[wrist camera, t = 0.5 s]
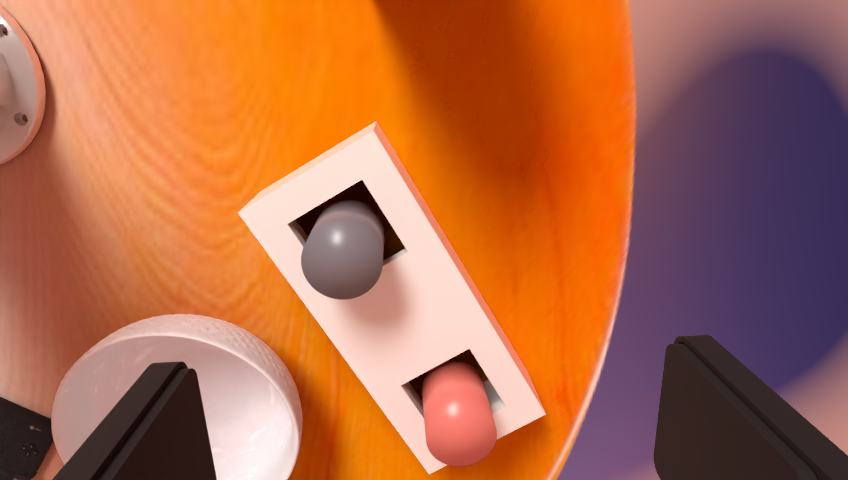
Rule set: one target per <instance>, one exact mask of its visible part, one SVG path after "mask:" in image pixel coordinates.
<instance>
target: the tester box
mask: <svg viewBox="0 0 848 480" xmlns="http://www.w3.org/2000/svg"><path fill="white" fill-rule="evenodd" d="M360 180H363V182H364V183H365V185H366V187H367V188H368V190H369V191H370V193H371V195H372V196H373V198H374V199H375V201H376V202H377V204H378V206H379V207H380V209H381V210H382V212H383V213H384V215H385V217H386V218H387V220H388V221H389V223H390V224H391V226H392V228H393V229H394V231H395V232H396V234H397V235H398V237H399V239H400V240H401V242H402V243H403V245H404V246H405V249H403V250H401V251H400V252H398V253H396V254H394V255H393V256H391V257H389V258H387V259H386V260H384V261H383V267H382V272H381V275H380V277H379V279H378V281H377V283H376V284H375V285H374V286H373V288H372V289H370V290H369V291H368V292H367V293H365V294H363V295H361V296H359V297H356V298H353V299H346V300H339V299H333V298H329V297H327V296H324V295H322V294H321V293H319V292H318V291H316V290H315V289H314V288H313V287H312V286H311V285H310V284H309V283H308V281H307V280H306V278H305V276H304V274H303V271H302V266H301V255H302V250H303V247H304V245H305V243H306V241H307V239H308V236H307V235H306V233H305V232H304V230H303V229H302V227H301V226H300V225H299V223H298V222H297V220H296V219H297V218H298V217H300V216H302V215H303V214H305V213H307V212H308V211H310V210H312V209H313V208H315V207H317V206H318V205H320V204H322V203H324V202H325V201H327V200H329V199H330V198H332V197H334V196H335V195H337V194H339V193H340V192H342V191H344V190H345V189H347V188H349V187H350V186H352V185H354V184H355V183H357V182H359V181H360ZM238 214H239V215H240V216H241V218H242V219H243V220H244V222H245V223H246V225H247V226H248V227H249V229H250V230H251V231H252V233H253V234H254V235H255V237H256V238H257V240H258V241H259V242H260V244H261V245H262V246H263V248H264V249H265V251H266V252H267V253H268V255H269V256H270V257H271V259H272V260H273V261H274V263H275V264H276V266H277V267H278V268H279V270H280V271H281V272H282V274H283V275H284V277H285V278H286V279H287V281H288V282H289V283H290V285H291V286H292V288H293V289H294V290H295V292H296V293H297V294H298V296H299V297H300V298H301V300H302V301H303V303H304V304H305V305H306V307H307V308H308V309H309V311H310V312H311V314H312V315H313V316H314V318H315V319H316V320H317V322H318V323H319V324H320V326H321V327H322V329H323V330H324V331H325V333H326V334H327V335H328V337H329V338H330V340H331V341H332V342H333V344H334V345H335V346H336V348H337V349H338V351H339V352H340V353H341V355H342V356H343V357H344V359H345V360H346V361H347V363H348V364H349V366H350V367H351V368H352V370H353V371H354V372H355V374H356V375H357V377H358V378H359V379H360V381H361V382H362V383H363V385H364V386H365V387H366V389H367V390H368V392H369V393H370V394H371V396H372V397H373V398H374V400H375V401H376V403H377V404H378V405H379V407H380V408H381V409H382V411H383V412H384V414H385V415H386V416H387V418H388V419H389V420H390V422H391V423H392V424H393V426H394V427H395V429H396V430H397V431H398V433H399V434H400V435H401V437H402V438H403V440H404V441H405V442H406V444H407V445H408V446H409V448H410V449H411V450H412V452H413V453H414V455H415V456H416V457H417V459H418V460H419V461H420V463H421V464H422V466H423V467H424V468H425V470H426V471H427V472H428V474H431V473H433V472H435V471H437V470H439V469H441V468H443V467H445V466H446V465H447V464H444V463H442V462H440V461H438V460H437V459H436V458H435V457H433V455H432V454H431V453H430V451H429V450H428V447H427V444H426V435H425V424H424V412H423V401H422V400H421V399H420V397H419V396H418V394H417V393H416V391H415V390H414V389H413V387H412V386H411V384H410V383H409V381H410V380H412V379H414V378H416V377H418V376H420V375H421V374H423V373H425V372H427V371H429V370H431V369H433V368H434V367H436V366H438V365H440V364H442V363H444V362H445V361H447V360H449V359H451V358H453V357H455V356H457V355H458V354H460V353H462V352H464V351H466V350H468V349H470V350H471V352H472V354H473V355H474V357H475V358H476V360H477V361H478V363H479V365H480V366H481V368H482V369H483V371H484V372H485V374H486V376H487V377H488V380H486V381H484V382H483V383H484V386H485V390H486V393H487V397H488V401H489V404H490V408H491V411H492V415H493V418H494V422H495V426H496V430H497V439H499V438H501V437H503V436H505V435H507V434H509V433H511V432H513V431H514V430H516V429H518V428H520V427H522V426H524V425H526V424H528V423H530V422H532V421H534V420H536V419H538V418H540V417H542V416H544V415H546V413H545V411H544V409H543V406H542V404H541V402H540V399H539V397H538V395H537V392H536V390H535V388H534V386H533V383H532V381H531V379H530V376H529V374H528V372H527V370H526V368H525V366H524V365H523V363H522V361H521V360H520V358H519V356H518V355H517V353H516V351H515V350H514V348H513V346H512V345H511V343H510V342H509V340H508V338H507V337H506V335H505V333H504V332H503V330H502V328H501V327H500V325H499V323H498V322H497V320H496V318H495V317H494V315H493V313H492V312H491V310H490V308H489V307H488V305H487V303H486V302H485V300H484V298H483V297H482V295H481V293H480V292H479V290H478V288H477V287H476V285H475V283H474V282H473V280H472V279H471V277H470V275H469V274H468V272H467V270H466V269H465V267H464V265H463V264H462V262H461V260H460V259H459V257H458V255H457V254H456V252H455V250H454V249H453V247H452V245H451V244H450V242H449V240H448V239H447V237H446V235H445V234H444V232H443V230H442V229H441V227H440V225H439V224H438V222H437V221H436V219H435V217H434V216H433V214H432V212H431V211H430V209H429V207H428V206H427V204H426V202H425V201H424V199H423V197H422V196H421V194H420V192H419V191H418V189H417V187H416V186H415V184H414V182H413V181H412V179H411V177H410V176H409V174H408V172H407V171H406V169H405V167H404V166H403V164H402V162H401V161H400V159H399V158H398V156H397V154H396V153H395V151H394V149H393V148H392V146H391V144H390V143H389V141H388V139H387V138H386V136H385V134H384V133H383V131H382V129H381V128H380V126H379V124H378V123H377V121H375V122H374V123H372V124H371V125H369V126H367V127H366V128H364V129H362V130H361V131H359V132H357V133H356V134H354V135H352V136H351V137H349V138H348V139H346V140H344V141H343V142H341V143H339V144H338V145H336V146H334V147H333V148H331V149H329V150H328V151H326V152H325V153H323V154H321V155H320V156H318V157H316V158H315V159H313V160H311V161H310V162H308V163H306V164H305V165H303V166H301V167H300V168H298V169H297V170H295V171H293V172H292V173H290V174H288V175H287V176H285V177H283V178H282V179H280V180H278V181H277V182H275V183H274V184H272V185H270V186H269V187H267V188H265V189H264V190H262V191H260V192H259V193H258V194H257V195H256V196H255V197H254V198H253V199H252V200H251V201H250V202H249V203H248V204H247V205H246V206H245V207H243V208H242V209H241V210H240V211H239V212H238Z"/></svg>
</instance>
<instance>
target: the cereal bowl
mask: <svg viewBox="0 0 848 480" xmlns="http://www.w3.org/2000/svg"><path fill="white" fill-rule="evenodd" d="M181 361H183V362H184V363H185V364H186V365H187V367H188V369H189V368H193V369H195V371H196V373H197V377H198V382H199V387H200V393H201V398H202V403H203V409H204V414H205V419H206V425H207V430H208V435H209V440H210V446H211V451H212V456H213V462H214V467H215V472H216V478H217V480H288V478H289V477H290V475H291V473H292V471H293V468H294V466H295V464H296V461H297V457H298V454H299V450H300V444H301V435H302V423H303V419H302V408H301V401H300V398H299V393H298V390H297V387H296V384H295V382H294V380H293V378H292V375H291V374H290V372H289V370H288V368H287V367H286V366H285V364H284V363H283V361H282V360H281V358H280V357H279V356H277V354H276V353H275V352H274V351H273V350H272V349H271V348H270V347H269V346H268V345H267V344H266V343H264V342H263V341H262V340H260V339H259V338H258V337H257V336H255V335H253V334H252V333H250V332H248V331H247V330H246V329H243V328H241V327H239V326H236V325H235V324H233V323H229V322H228V321H224V320H220V319H217V318H212V317H206V316H204V315H192V314H172V315H170V314H166V315H162V316H154V317H151V318H148V319H143V320H140V321H137V322H135V323H131V324H129V325H127V326H126V327H122V328H120V329H119V330H117V331H116V332H113V333H111V334H110V335H108V336H107V337H106V338H104V339H102V340H101V341H99V342H98V343H97V344H96V345H94V346H93V347H91V348H90V350H89V351H87V352H85V353H84V354H83V356H82V357H81V358H79V359H78V360H77V361H76V362H75V363H74V364H73V366H72V367H71V368H70V369H69V370H68V371H67V373H66V374H65V376H64V377H63V379H62V381H61V383H60V384H59V387H58V389H57V391H56V394H55V397H54V400H53V405H52V413H51V429H52V435H53V440H54V444H55V447H56V450H57V452H58V454H59V456H60V458H61V460H62V462H63V464H64V465H65V464H66V463H67V462H68V461H69V459H70V458H71V457H72V456H73V455H74V453H75V452H76V451H77V450H78V449H79V448H80V446H81V445H82V444H83V443H84V442H85V440H86V439H87V438H88V437H89V436H90V435H91V433H92V432H93V431H94V430H95V429H96V427H97V426H98V425H99V424H100V423H101V422H102V420H103V419H104V418H105V417H106V416H107V415H108V413H109V412H110V411H111V410H112V409H113V407H114V406H115V405H116V404H117V403H118V402H119V400H120V399H121V398H122V397H123V396H124V394H125V393H126V392H127V391H128V390H129V389H130V387H131V386H132V385H133V384H134V383H135V381H136V380H137V379H138V378H139V377H140V376H141V374H142V373H143V372H144V371H145V370H146V368H147V367H148V366H149V365H150V364H152V363H161V362H181Z"/></svg>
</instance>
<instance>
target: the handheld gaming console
mask: <svg viewBox="0 0 848 480" xmlns="http://www.w3.org/2000/svg"><path fill="white" fill-rule="evenodd" d="M52 442H53V435H52V429H51V419H49V418H47V417H45V416H42V415H40V414H38V413H36V412H33V411H31V410H29V409H26V408H24V407H22V406H20V405H17V404H15V403H13V402H10V401H8V400H6V399H4V398H1V397H0V480H20V479H22V480H31V479H32V478H33V477H34V476H35V475H36V474H37V470H38V468H39V467H40V465H41V463H42V461H43V459H44V457H45V455H46V453H47V451H48V449H49V447H50V445H51V444H52ZM11 475H13V476H15V477H17V478H20V479H17V478H15V477H13V476H11Z"/></svg>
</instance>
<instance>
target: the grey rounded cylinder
mask: <svg viewBox="0 0 848 480" xmlns="http://www.w3.org/2000/svg"><path fill="white" fill-rule="evenodd" d="M383 250H384V226H383V223H382V220H381V219H380V217H379V215H378V214H377V213H376V212H375V210H374V209H372V208H371V207H370V206H368V205H367V204H365V203H362V202H359V201H355V200H342V201H338V202H335V203H333V204H331V205H329V206H328V207H327V208H325V209H324V210H323V211H322V213H321V214H320V215H319V217H318V219H317V221H316V223H315V225H314V227H313V229H312V231H311V233H310V235H309V237H308V239H307V241H306V243H305V245H304V247H303V250H302V255H301V266H302V271H303V274H304V276H305V278H306V280H307V281H308V283H309V284H310V285H311V286H312V287H313V288H314V289H315V290H316V291H318V292H319V293H321V294H322V295H324V296H327V297H329V298H333V299H339V300H346V299H353V298H356V297H359V296H361V295H363V294H365V293H367V292H368V291H369V290H370V289H372V288H373V286H374V285H375V284H376V283H377V281H378V279H379V277H380V275H381V272H382V267H383Z"/></svg>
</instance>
